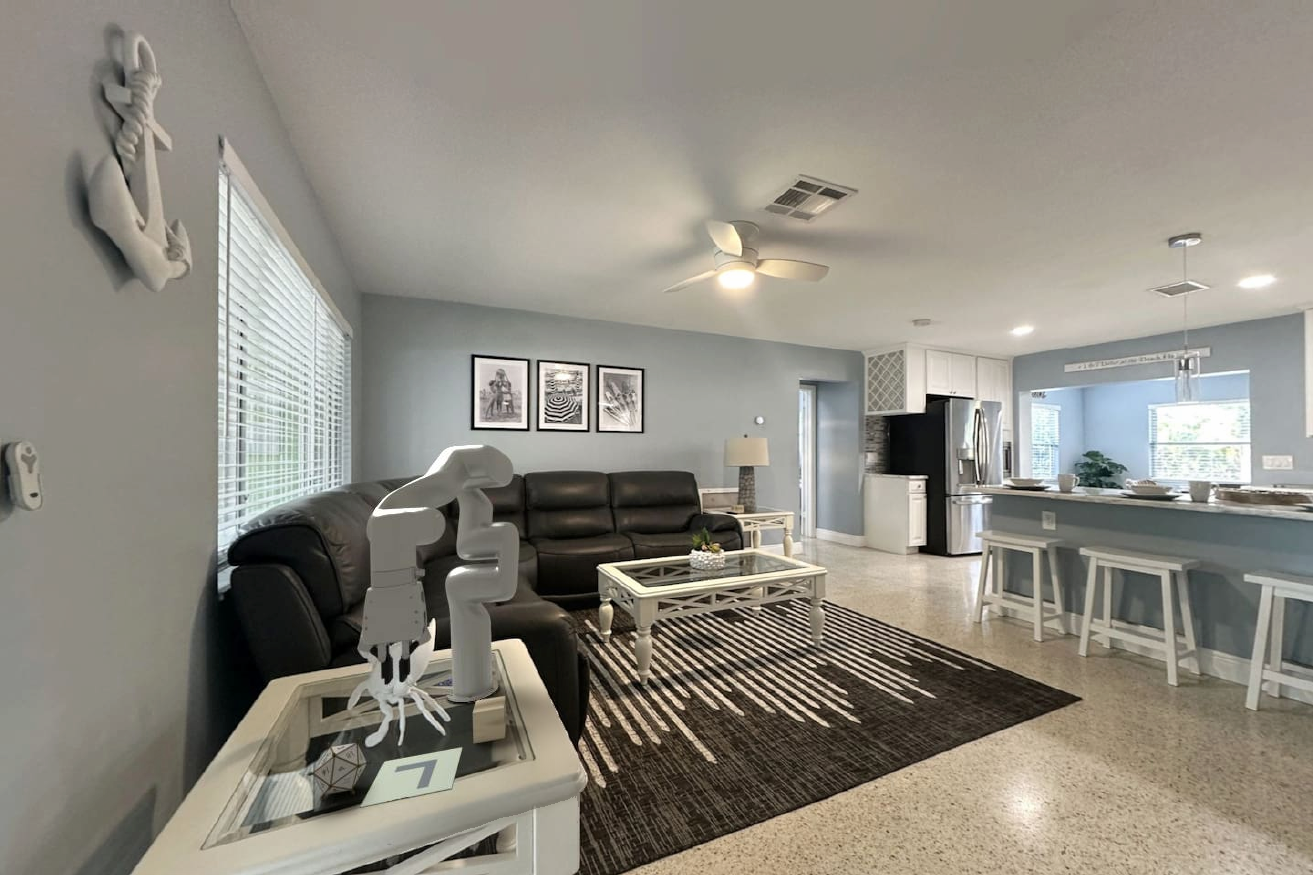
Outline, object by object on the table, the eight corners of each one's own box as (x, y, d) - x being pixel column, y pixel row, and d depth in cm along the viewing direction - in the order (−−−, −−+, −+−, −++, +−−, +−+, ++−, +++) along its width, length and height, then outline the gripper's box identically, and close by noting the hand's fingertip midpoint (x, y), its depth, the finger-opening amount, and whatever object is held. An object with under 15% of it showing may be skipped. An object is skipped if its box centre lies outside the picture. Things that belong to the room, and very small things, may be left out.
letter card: (384, 762, 95) (384, 761, 95) (462, 747, 98) (462, 746, 98) (360, 807, 81) (360, 806, 81) (451, 788, 85) (451, 787, 85)
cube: (477, 729, 106) (476, 700, 106) (506, 724, 107) (505, 695, 108) (473, 743, 100) (472, 712, 100) (504, 738, 101) (503, 707, 102)
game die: (342, 820, 84) (325, 792, 79) (307, 795, 87) (289, 766, 82) (386, 769, 91) (374, 739, 86) (353, 747, 94) (339, 717, 89)
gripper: (443, 570, 98) (446, 666, 96) (353, 579, 94) (354, 680, 92) (436, 576, 91) (439, 681, 89) (338, 587, 87) (339, 696, 85)
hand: (396, 680), depth 91 cm, fingers closed
